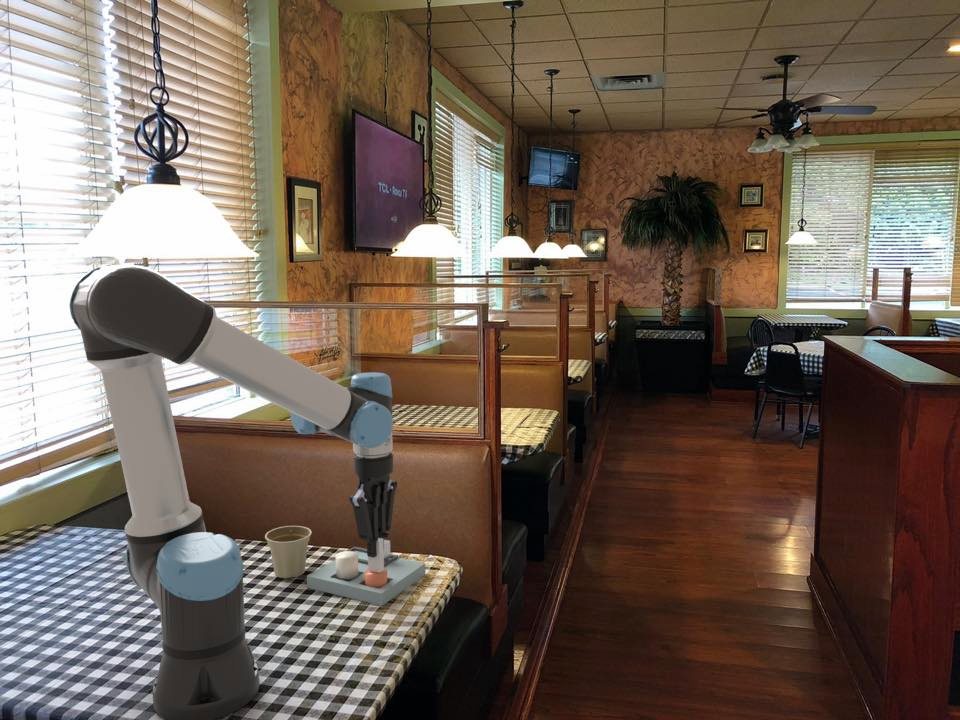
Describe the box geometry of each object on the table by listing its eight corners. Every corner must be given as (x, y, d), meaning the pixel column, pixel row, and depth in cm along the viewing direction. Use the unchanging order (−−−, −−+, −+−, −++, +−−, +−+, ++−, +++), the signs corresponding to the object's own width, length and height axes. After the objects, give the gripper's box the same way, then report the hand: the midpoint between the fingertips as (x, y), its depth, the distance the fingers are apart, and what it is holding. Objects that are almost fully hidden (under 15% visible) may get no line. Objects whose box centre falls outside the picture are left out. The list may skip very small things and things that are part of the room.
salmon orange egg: (379, 597, 144) (378, 577, 143) (360, 593, 146) (360, 573, 145) (391, 588, 148) (391, 569, 147) (373, 584, 150) (373, 565, 149)
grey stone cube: (382, 563, 155) (382, 545, 154) (371, 561, 156) (371, 543, 155) (390, 559, 157) (390, 540, 157) (379, 556, 158) (379, 538, 158)
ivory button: (349, 580, 147) (348, 561, 146) (331, 576, 149) (331, 557, 148) (362, 572, 150) (362, 553, 150) (345, 568, 152) (344, 549, 152)
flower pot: (306, 582, 152) (305, 542, 151) (260, 582, 152) (259, 541, 151) (317, 564, 161) (316, 525, 160) (274, 563, 161) (272, 525, 160)
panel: (381, 605, 141) (381, 590, 141) (307, 587, 149) (306, 573, 149) (425, 574, 155) (425, 560, 155) (355, 559, 164) (354, 546, 163)
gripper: (369, 463, 136) (372, 586, 139) (408, 447, 147) (410, 561, 150) (336, 458, 139) (340, 579, 142) (376, 443, 150) (379, 555, 154)
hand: (376, 570), depth 146 cm, fingers closed
